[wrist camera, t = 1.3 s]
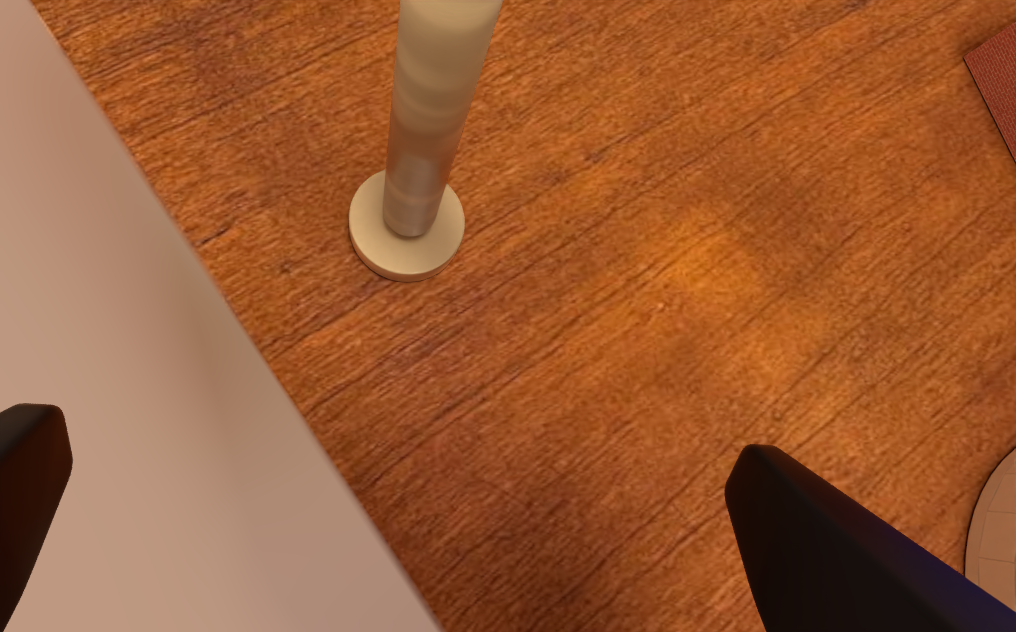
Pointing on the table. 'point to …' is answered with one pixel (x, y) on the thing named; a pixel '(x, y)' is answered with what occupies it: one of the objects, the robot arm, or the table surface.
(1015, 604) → the bowl
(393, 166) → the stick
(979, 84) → the house
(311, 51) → the table surface
